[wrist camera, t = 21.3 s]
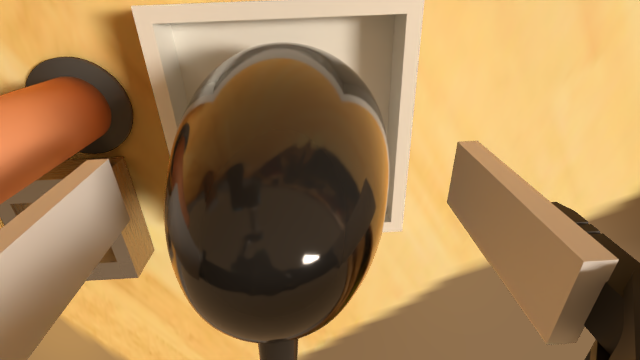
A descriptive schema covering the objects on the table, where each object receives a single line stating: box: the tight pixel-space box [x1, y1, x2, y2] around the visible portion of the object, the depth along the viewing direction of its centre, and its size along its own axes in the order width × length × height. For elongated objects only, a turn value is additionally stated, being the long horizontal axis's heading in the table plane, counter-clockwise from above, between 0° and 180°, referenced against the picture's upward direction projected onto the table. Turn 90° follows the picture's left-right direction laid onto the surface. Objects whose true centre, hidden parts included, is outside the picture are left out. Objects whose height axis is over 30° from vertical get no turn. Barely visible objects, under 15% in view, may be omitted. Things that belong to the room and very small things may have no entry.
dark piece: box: [164, 42, 390, 360], centre depth 15 cm, size 10×10×15 cm
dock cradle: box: [131, 0, 424, 232], centre depth 21 cm, size 14×14×3 cm
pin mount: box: [0, 157, 154, 281], centre depth 24 cm, size 8×7×3 cm
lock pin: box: [0, 76, 112, 204], centre depth 16 cm, size 4×4×11 cm
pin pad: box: [25, 57, 133, 154], centre depth 21 cm, size 6×6×1 cm
